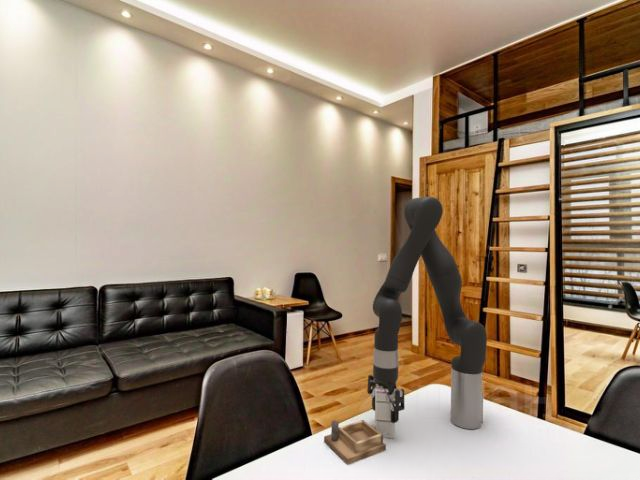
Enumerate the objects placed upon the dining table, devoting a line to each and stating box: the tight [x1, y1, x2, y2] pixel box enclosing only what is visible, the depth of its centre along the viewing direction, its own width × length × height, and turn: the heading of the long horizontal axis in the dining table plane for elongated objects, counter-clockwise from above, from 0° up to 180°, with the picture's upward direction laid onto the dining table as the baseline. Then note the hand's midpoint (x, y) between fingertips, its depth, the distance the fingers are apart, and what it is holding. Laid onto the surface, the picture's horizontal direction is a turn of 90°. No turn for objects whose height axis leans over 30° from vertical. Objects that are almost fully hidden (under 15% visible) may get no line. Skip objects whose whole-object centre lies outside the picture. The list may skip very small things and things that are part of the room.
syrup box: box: [374, 384, 396, 440], centre depth 110 cm, size 6×6×14 cm
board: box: [323, 419, 387, 465], centre depth 103 cm, size 13×12×6 cm
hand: (384, 415), depth 110 cm, fingers open, 8 cm apart
